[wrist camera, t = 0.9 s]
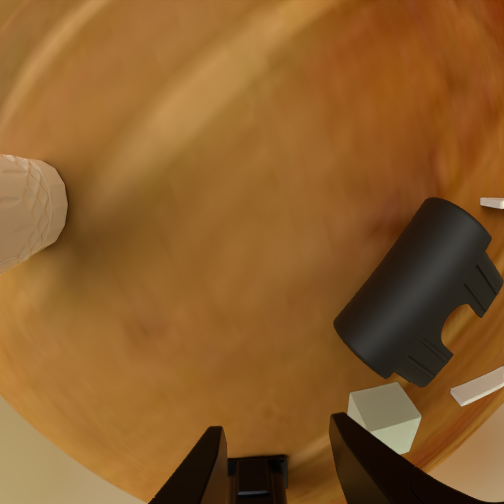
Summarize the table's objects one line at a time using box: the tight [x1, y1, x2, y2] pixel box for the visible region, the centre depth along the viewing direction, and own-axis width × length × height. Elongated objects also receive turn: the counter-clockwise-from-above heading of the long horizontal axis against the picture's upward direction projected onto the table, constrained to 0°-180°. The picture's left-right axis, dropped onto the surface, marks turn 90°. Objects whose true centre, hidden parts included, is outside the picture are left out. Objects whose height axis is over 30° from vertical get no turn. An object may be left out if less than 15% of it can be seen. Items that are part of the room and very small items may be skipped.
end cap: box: [333, 197, 503, 387], centre depth 17 cm, size 10×7×7 cm
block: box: [347, 382, 422, 455], centre depth 20 cm, size 4×4×5 cm
